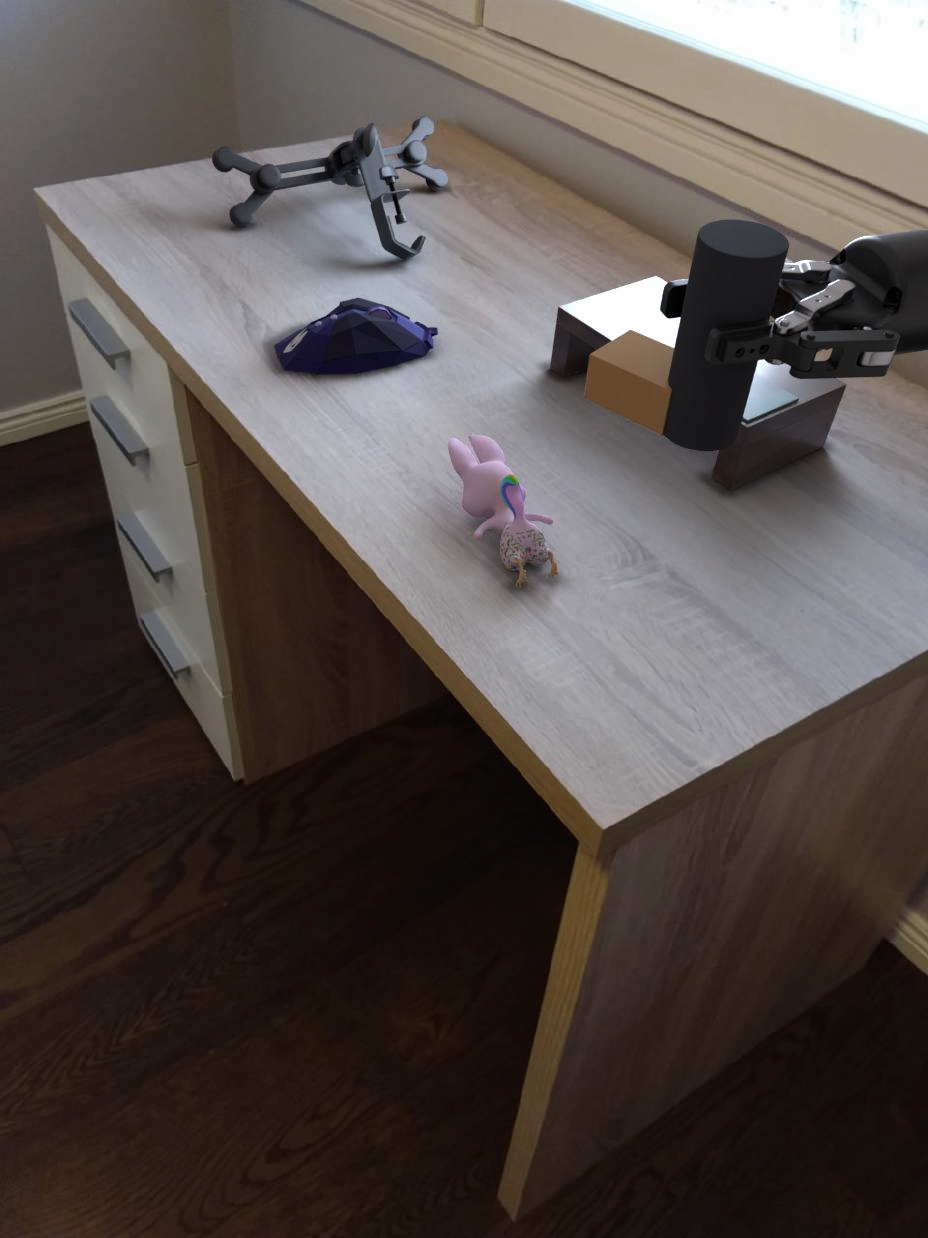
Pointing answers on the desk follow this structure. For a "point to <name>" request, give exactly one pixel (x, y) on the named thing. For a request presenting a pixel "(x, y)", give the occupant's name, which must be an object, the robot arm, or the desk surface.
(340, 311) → the computer mouse
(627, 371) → the cylinder with tan block
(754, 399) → the low wooden bench
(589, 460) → the desk surface
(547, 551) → the rabbit figure
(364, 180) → the tablet mount
